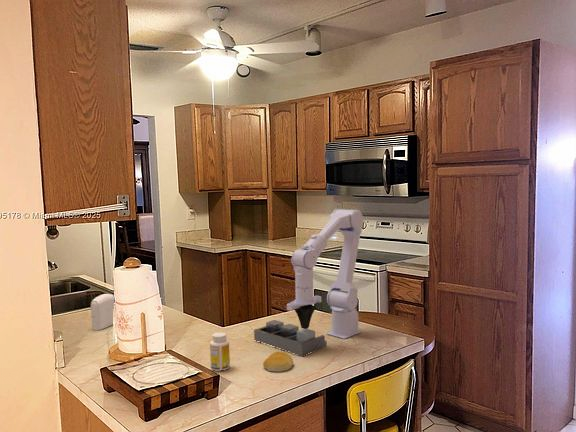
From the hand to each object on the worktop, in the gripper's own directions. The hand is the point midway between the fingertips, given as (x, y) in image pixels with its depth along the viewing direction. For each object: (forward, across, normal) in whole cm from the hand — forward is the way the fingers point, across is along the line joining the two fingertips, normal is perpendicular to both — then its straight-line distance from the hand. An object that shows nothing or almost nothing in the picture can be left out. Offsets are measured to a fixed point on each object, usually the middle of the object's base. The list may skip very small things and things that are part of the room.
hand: (304, 328), depth 161 cm
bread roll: (+7, -16, -4) cm, 18 cm away
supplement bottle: (+7, -28, +8) cm, 30 cm away
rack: (+7, 0, +7) cm, 10 cm away
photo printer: (+7, -32, +74) cm, 81 cm away
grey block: (+6, 0, 0) cm, 6 cm away
